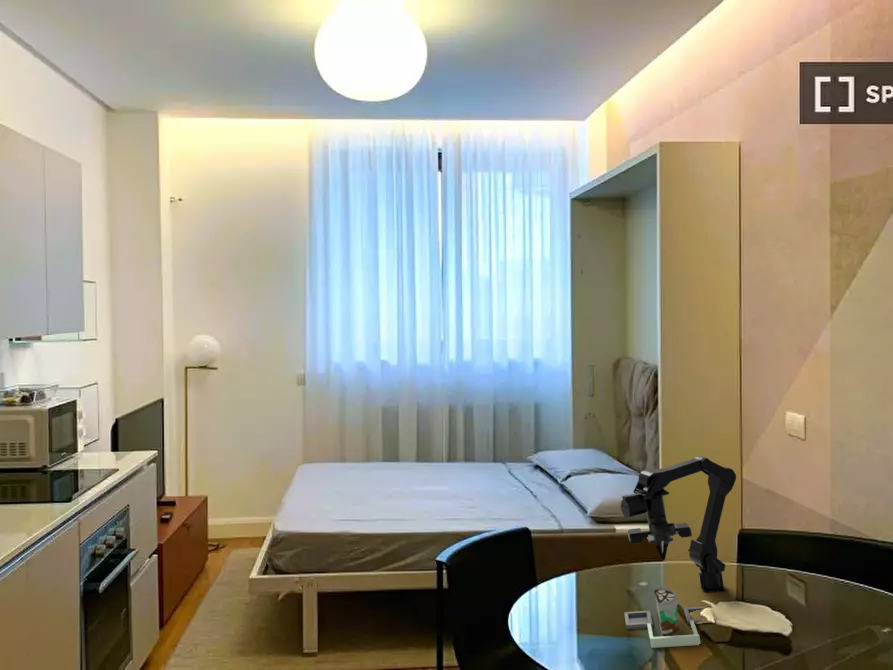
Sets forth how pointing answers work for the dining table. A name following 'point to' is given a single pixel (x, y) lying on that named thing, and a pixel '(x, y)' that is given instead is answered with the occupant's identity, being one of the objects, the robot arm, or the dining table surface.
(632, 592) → the dining table surface
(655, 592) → the food container
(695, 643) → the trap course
